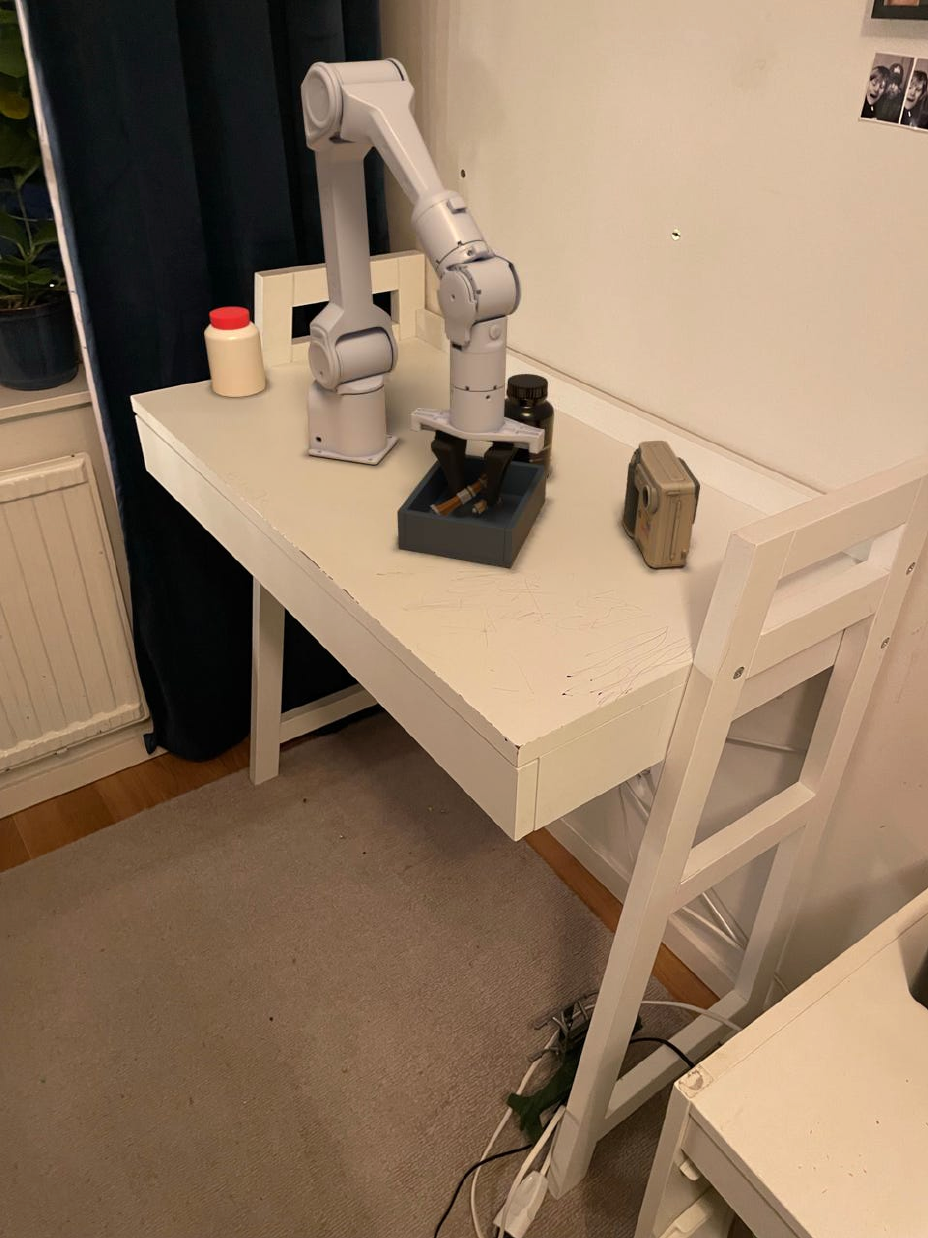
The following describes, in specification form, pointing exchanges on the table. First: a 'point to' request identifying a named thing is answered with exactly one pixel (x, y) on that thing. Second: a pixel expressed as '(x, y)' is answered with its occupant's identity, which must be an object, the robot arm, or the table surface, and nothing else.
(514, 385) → the supplement bottle
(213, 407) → the table surface
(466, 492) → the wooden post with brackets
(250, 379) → the pill bottle
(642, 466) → the camera
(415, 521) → the bin
